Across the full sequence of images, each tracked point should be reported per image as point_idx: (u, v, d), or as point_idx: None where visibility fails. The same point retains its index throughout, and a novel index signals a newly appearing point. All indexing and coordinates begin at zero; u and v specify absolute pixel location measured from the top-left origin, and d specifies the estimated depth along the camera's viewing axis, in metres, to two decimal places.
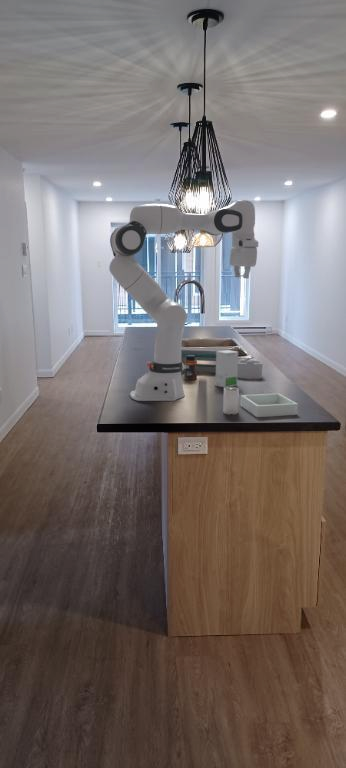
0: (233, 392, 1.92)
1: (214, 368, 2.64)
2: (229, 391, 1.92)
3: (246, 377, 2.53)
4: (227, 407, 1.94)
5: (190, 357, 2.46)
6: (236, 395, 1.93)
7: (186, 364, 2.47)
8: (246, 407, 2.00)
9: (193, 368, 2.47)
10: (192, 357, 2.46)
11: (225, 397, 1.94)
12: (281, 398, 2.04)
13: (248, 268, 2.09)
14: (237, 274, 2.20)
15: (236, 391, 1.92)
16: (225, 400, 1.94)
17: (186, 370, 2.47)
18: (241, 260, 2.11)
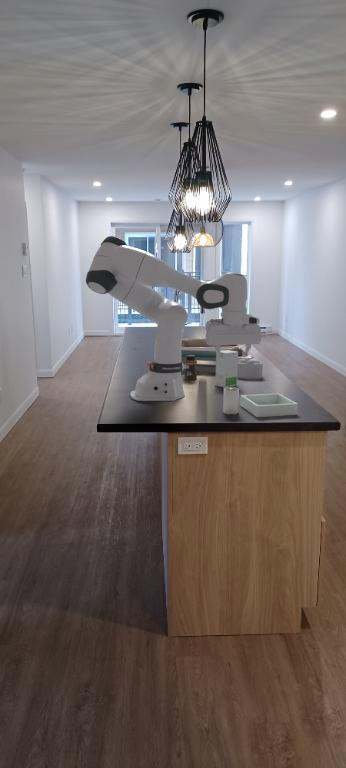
0: (233, 392, 1.92)
1: (214, 368, 2.64)
2: (229, 391, 1.92)
3: (246, 377, 2.52)
4: (227, 407, 1.94)
5: (190, 357, 2.46)
6: (236, 395, 1.93)
7: (186, 364, 2.47)
8: (246, 407, 2.00)
9: (193, 368, 2.47)
10: (192, 357, 2.46)
11: (225, 397, 1.94)
12: (281, 398, 2.04)
13: None
14: None
15: (236, 391, 1.92)
16: (225, 400, 1.94)
17: (186, 370, 2.47)
18: (244, 338, 1.89)
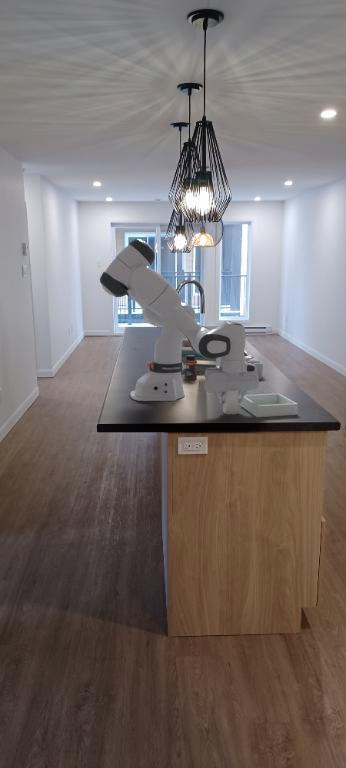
0: (233, 392, 1.92)
1: None
2: (229, 391, 1.92)
3: None
4: (227, 407, 1.94)
5: (190, 357, 2.46)
6: (236, 395, 1.93)
7: (186, 364, 2.47)
8: (246, 407, 2.00)
9: (193, 368, 2.47)
10: (192, 357, 2.46)
11: (225, 397, 1.94)
12: (281, 398, 2.04)
13: None
14: None
15: (236, 391, 1.92)
16: (225, 400, 1.94)
17: (186, 370, 2.47)
18: (242, 385, 1.93)
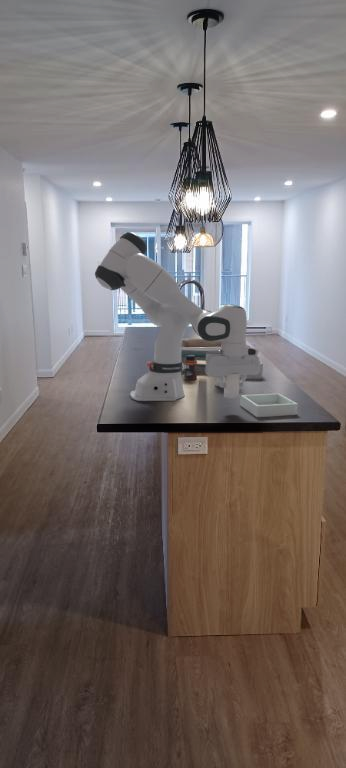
0: (234, 376, 1.91)
1: None
2: (230, 375, 1.91)
3: (247, 377, 2.52)
4: (228, 391, 1.92)
5: (190, 357, 2.46)
6: (237, 379, 1.92)
7: (186, 364, 2.47)
8: (246, 407, 2.00)
9: (193, 368, 2.47)
10: (192, 357, 2.46)
11: (226, 381, 1.92)
12: (281, 398, 2.04)
13: None
14: None
15: (237, 375, 1.91)
16: (226, 384, 1.93)
17: (186, 370, 2.47)
18: (243, 368, 1.92)
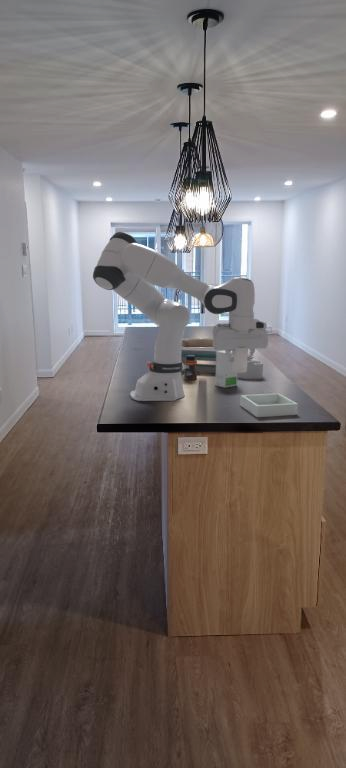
0: (242, 349, 1.89)
1: (214, 368, 2.64)
2: (238, 348, 1.89)
3: (247, 377, 2.52)
4: (236, 365, 1.90)
5: (190, 357, 2.46)
6: (245, 353, 1.90)
7: (186, 364, 2.47)
8: (246, 407, 2.00)
9: (193, 368, 2.47)
10: (192, 357, 2.46)
11: (234, 355, 1.90)
12: (281, 398, 2.04)
13: None
14: None
15: (245, 348, 1.89)
16: (234, 358, 1.91)
17: (186, 370, 2.47)
18: (251, 342, 1.90)
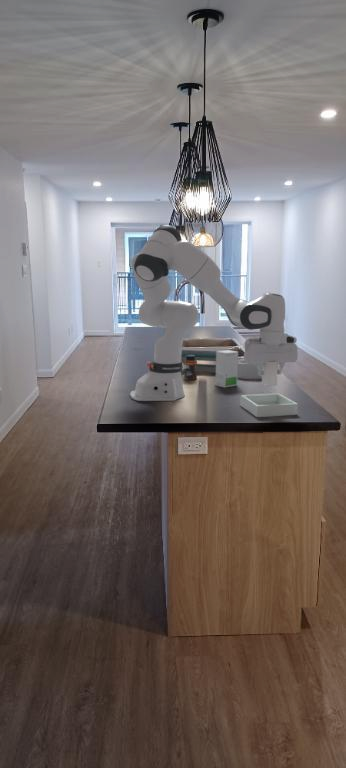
0: (272, 363, 1.93)
1: (214, 368, 2.64)
2: (268, 362, 1.93)
3: (247, 377, 2.52)
4: (266, 379, 1.95)
5: (190, 357, 2.46)
6: (275, 366, 1.94)
7: (186, 364, 2.47)
8: (246, 407, 2.00)
9: (193, 368, 2.47)
10: (192, 357, 2.46)
11: (264, 369, 1.95)
12: (281, 398, 2.04)
13: None
14: None
15: (275, 362, 1.93)
16: (264, 372, 1.95)
17: (186, 370, 2.47)
18: (281, 356, 1.94)
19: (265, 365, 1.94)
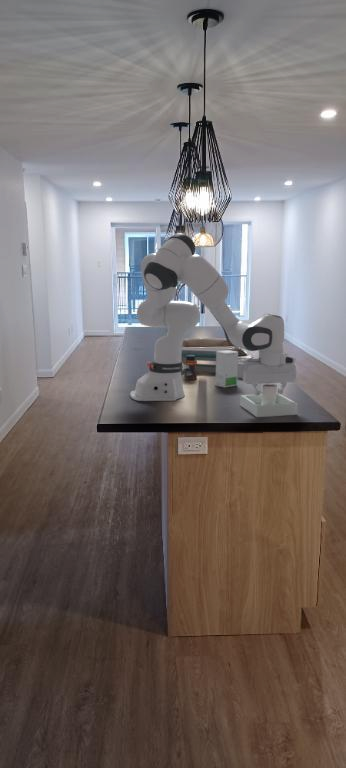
0: (271, 388, 1.95)
1: (214, 368, 2.64)
2: (267, 387, 1.96)
3: None
4: (265, 403, 1.97)
5: (190, 357, 2.46)
6: (274, 391, 1.96)
7: (186, 364, 2.47)
8: (246, 407, 2.00)
9: (193, 368, 2.47)
10: (192, 357, 2.46)
11: (263, 393, 1.97)
12: (281, 398, 2.04)
13: None
14: None
15: (274, 387, 1.96)
16: (263, 396, 1.97)
17: (186, 370, 2.47)
18: (280, 376, 1.96)
19: (264, 390, 1.97)
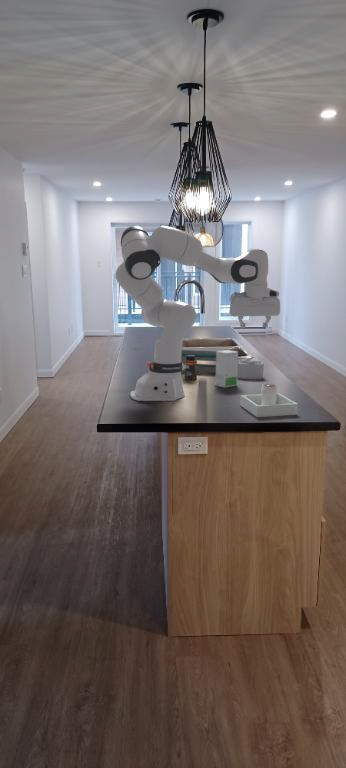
0: (271, 388, 1.96)
1: (214, 368, 2.64)
2: (267, 387, 1.96)
3: (248, 377, 2.52)
4: (265, 403, 1.97)
5: (190, 357, 2.46)
6: (274, 391, 1.96)
7: (186, 364, 2.47)
8: (246, 407, 2.00)
9: (193, 368, 2.47)
10: (192, 357, 2.46)
11: (263, 393, 1.97)
12: (281, 398, 2.04)
13: None
14: None
15: (274, 387, 1.96)
16: (263, 396, 1.97)
17: (186, 370, 2.47)
18: (265, 310, 2.07)
19: (264, 390, 1.97)
